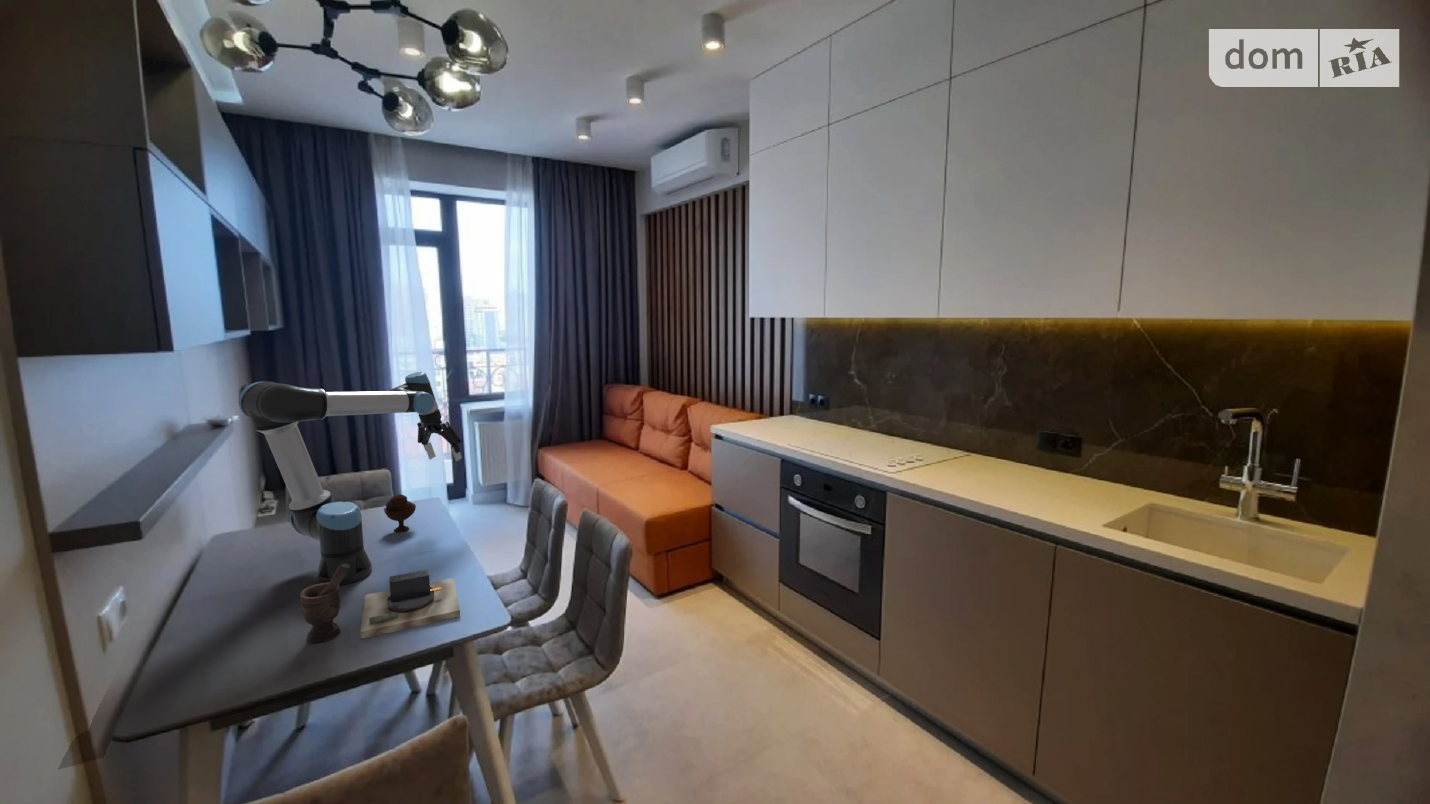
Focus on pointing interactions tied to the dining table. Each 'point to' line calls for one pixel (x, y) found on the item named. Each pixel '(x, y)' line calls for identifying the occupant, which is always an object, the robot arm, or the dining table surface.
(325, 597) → the mortar and pestle
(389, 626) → the base plate
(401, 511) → the ice cream bowl
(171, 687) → the dining table surface
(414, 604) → the dial knob
